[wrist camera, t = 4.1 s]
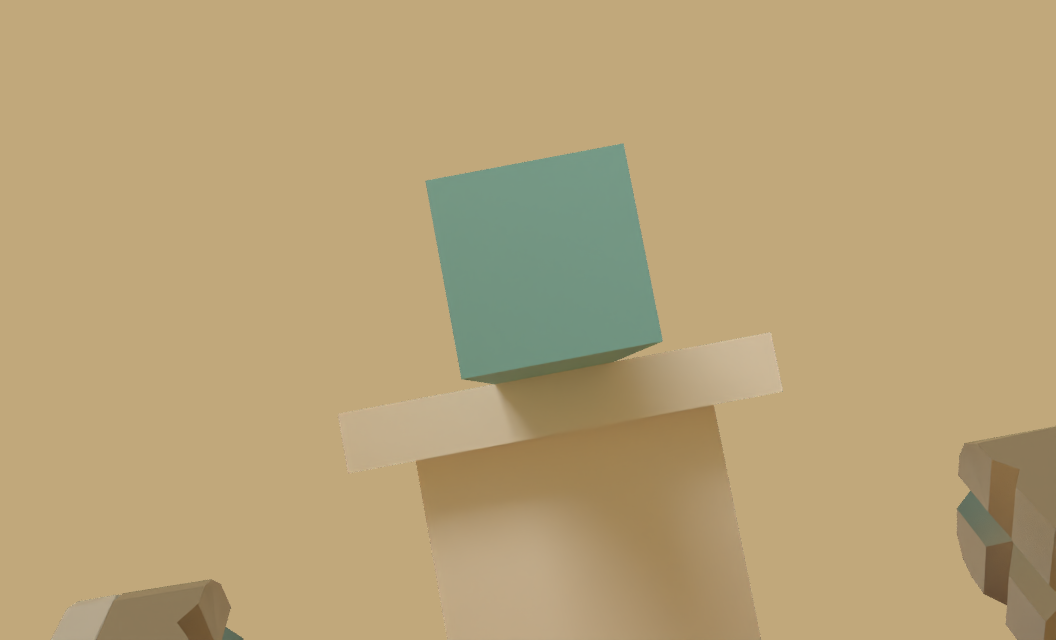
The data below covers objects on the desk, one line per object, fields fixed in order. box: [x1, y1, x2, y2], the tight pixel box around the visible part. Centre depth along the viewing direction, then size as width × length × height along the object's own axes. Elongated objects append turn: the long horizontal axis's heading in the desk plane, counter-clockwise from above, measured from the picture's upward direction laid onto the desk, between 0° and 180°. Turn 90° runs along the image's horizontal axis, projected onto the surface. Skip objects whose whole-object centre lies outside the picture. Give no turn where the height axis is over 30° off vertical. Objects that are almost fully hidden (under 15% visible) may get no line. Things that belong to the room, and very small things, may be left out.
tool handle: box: [426, 144, 662, 384], centre depth 27 cm, size 25×3×3 cm, turn 0°
